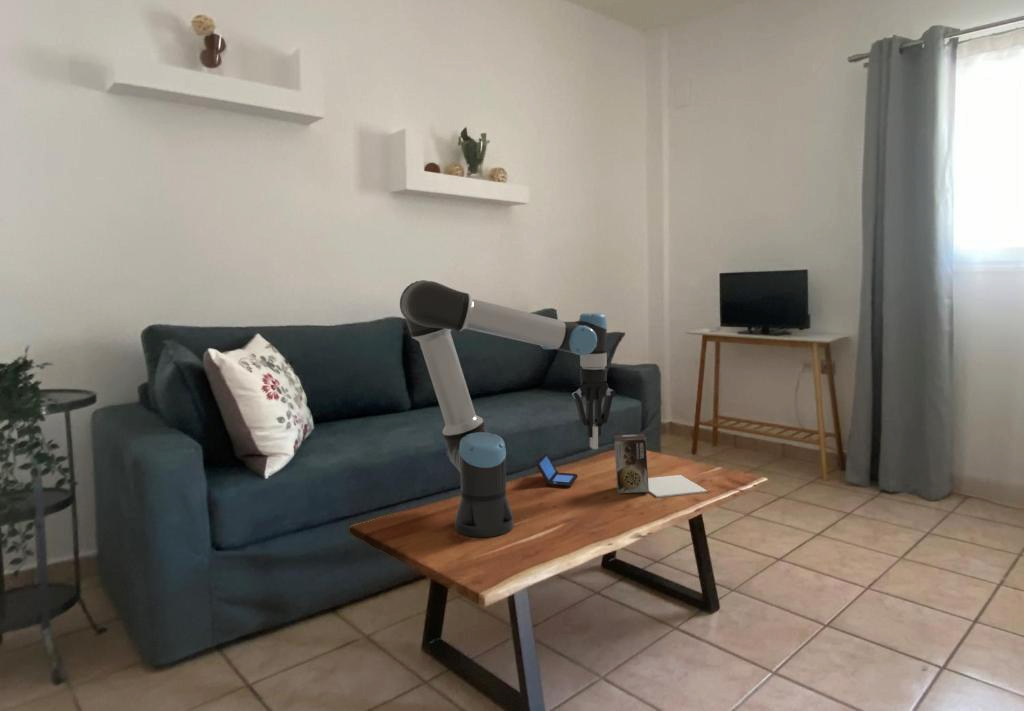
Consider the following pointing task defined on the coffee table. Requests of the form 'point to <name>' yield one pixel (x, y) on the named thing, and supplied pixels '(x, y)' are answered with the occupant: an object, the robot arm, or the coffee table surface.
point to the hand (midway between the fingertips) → (594, 447)
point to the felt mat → (673, 486)
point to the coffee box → (631, 463)
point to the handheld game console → (554, 474)
